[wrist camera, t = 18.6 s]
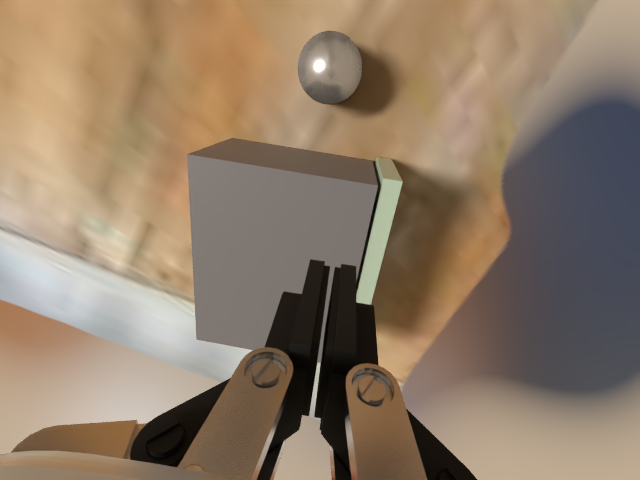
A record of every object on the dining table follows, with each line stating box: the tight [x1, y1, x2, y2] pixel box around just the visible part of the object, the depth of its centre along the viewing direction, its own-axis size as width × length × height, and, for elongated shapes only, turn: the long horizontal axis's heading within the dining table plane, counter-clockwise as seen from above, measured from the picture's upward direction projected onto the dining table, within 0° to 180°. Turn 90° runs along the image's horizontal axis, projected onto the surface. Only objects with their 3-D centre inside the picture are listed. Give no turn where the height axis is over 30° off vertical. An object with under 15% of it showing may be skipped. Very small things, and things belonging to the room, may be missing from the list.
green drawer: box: [356, 157, 403, 305], centre depth 30 cm, size 14×19×8 cm
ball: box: [298, 31, 362, 104], centre depth 26 cm, size 5×5×4 cm
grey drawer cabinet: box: [187, 138, 378, 363], centre depth 30 cm, size 14×18×9 cm
